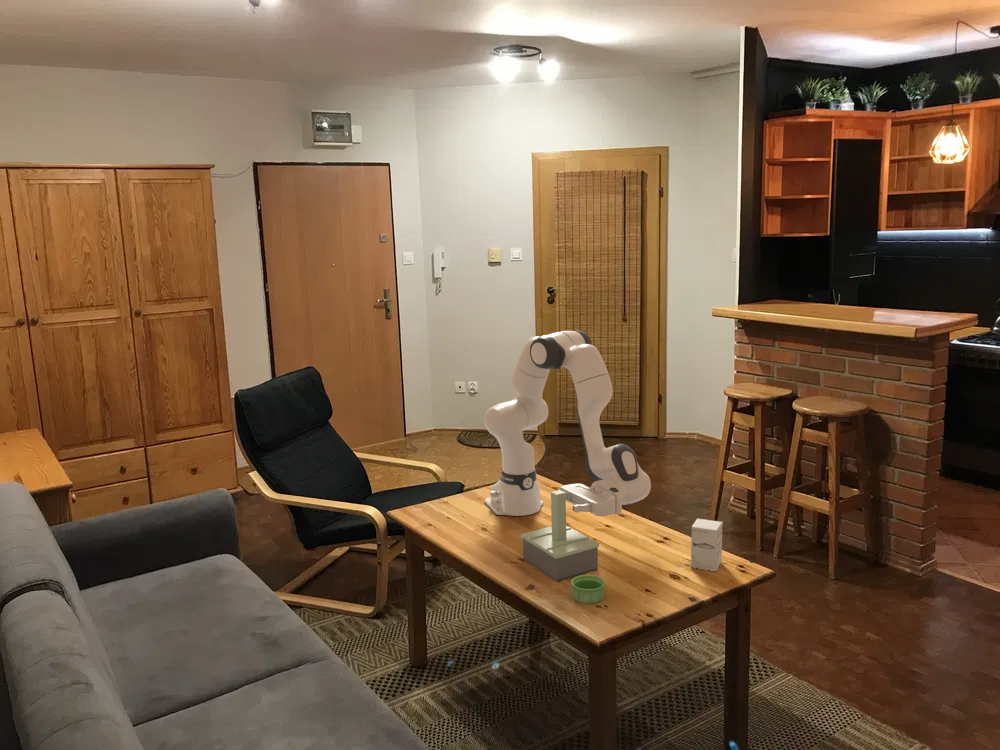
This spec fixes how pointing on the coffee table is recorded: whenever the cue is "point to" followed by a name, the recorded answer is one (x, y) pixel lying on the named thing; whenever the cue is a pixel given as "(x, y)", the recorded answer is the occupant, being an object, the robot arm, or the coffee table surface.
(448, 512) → the coffee table surface
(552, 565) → the tub
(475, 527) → the coffee table surface
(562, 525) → the grooved base with post
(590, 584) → the ramekin
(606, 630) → the coffee table surface
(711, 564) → the supplement box
